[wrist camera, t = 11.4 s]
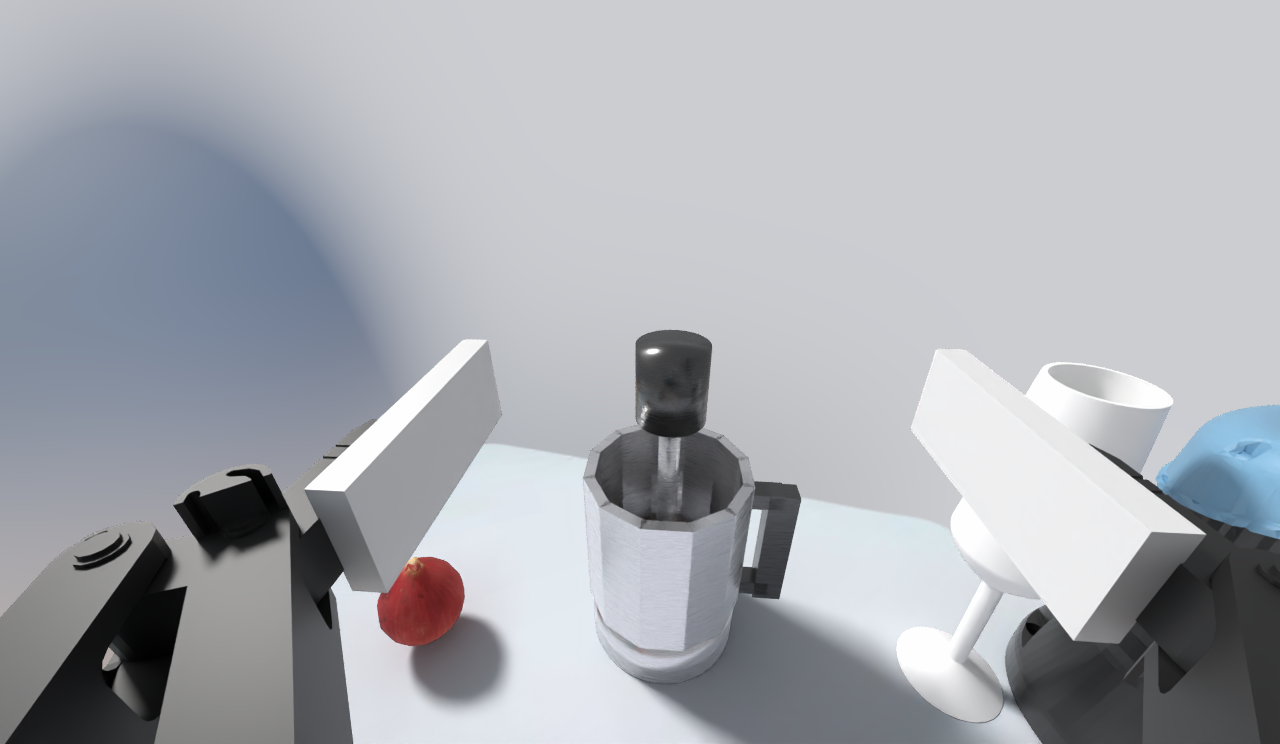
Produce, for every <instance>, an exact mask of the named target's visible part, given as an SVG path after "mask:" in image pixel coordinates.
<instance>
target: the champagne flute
mask: <svg viewBox="0 0 1280 744" xmlns="http://www.w3.org/2000/svg"><path fill="white" fill-rule="evenodd" d="M1025 396H1026V397H1028V398H1029V399H1030V400H1032V401H1033V402H1034V403H1036V404H1037V405H1038V406H1039V407H1041V408H1042V409H1043V410H1045V411H1046V412H1047V413H1049V414H1050V415H1051V416H1053V417H1054V418H1055V419H1056V420H1058V421H1059V422H1060V423H1062V424H1063V425H1064V426H1066V427H1067V428H1068V429H1070V430H1071V431H1072V432H1073V433H1075V434H1076V435H1077V436H1079V437H1080V438H1081V439H1083V440H1084V441H1085V442H1086V443H1088V444H1091V445H1093V446H1095V447H1097V448H1099V449H1101V450H1103V451H1105V452H1107V453H1109V454H1111V455H1113V456H1115V457H1117V458H1119V459H1120V460H1122V461H1123V462H1124V463H1126V464H1127V465H1129V466H1130V467H1131V468H1133V469H1134V470H1135V471H1137V472H1138V473H1139V474H1140V473H1141V471H1142V468H1143V466H1144V464H1145V462H1146V460H1147V458H1148V456H1149V453H1150V451H1151V449H1152V447H1153V445H1154V443H1155V440H1156V438H1157V436H1158V434H1159V432H1160V430H1161V427H1162V425H1163V423H1164V421H1165V419H1166V417H1167V415H1168V412H1169V410H1170V408H1171V406H1172V404H1173V399H1172V397H1171V396H1170V395H1169V394H1168V393H1166V392H1165V391H1164V390H1162V389H1161V388H1159V387H1157V386H1155V385H1153V384H1151V383H1149V382H1147V381H1144V380H1142V379H1139V378H1136V377H1134V376H1131V375H1128V374H1125V373H1122V372H1119V371H1115V370H1111V369H1107V368H1103V367H1098V366H1092V365H1087V364H1080V363H1067V362H1057V363H1049V364H1047V365H1045V366H1043V367H1042V369H1041V371H1040V372H1039V374H1038V376H1037V377H1036V379H1035V381H1034V382H1033V384H1032V385H1031V387H1030V388H1029V390H1028V392H1027V393H1026V395H1025ZM951 532H952V535H953V539H954V542H955V544H956V547H957V549H958V551H959V552H960V554H961V556H962V558H963V559H964V561H965V562H966V563H967V564H968V566H969V567H970V568H971V569H972V570H973V571H974V572H975V573H976V574H977V575H978V576H979V578H980V579H981V580H982V582H981V584H980V586H979V588H978V590H977V592H976V594H975V596H974V598H973V599H972V601H971V603H970V605H969V607H968V609H967V611H966V613H965V615H964V617H963V619H962V621H961V622H960V624H959V626H958V628H957V630H956V632H955V634H954V636H953V635H951V634H949V633H947V632H944V631H942V630H938V629H935V628H930V627H915V628H911V629H908V630H907V631H905V632H904V633H903V634H902V635H901V636H900V638H899V640H898V643H897V657H898V661H899V664H900V666H901V669H902V671H903V673H904V674H905V676H906V678H907V680H908V681H909V682H910V683H911V685H912V686H913V687H914V689H915V690H916V691H917V692H918V693H919V694H920V695H921V696H922V697H923V698H924V699H926V700H927V701H928V702H929V703H930V704H932V705H933V706H934V707H936V708H938V709H939V710H941V711H942V712H944V713H946V714H948V715H950V716H952V717H954V718H957V719H960V720H963V721H967V722H975V723H980V722H987V721H990V720H992V719H994V718H995V717H996V716H997V715H998V714H999V713H1000V711H1001V709H1002V706H1003V694H1002V689H1001V686H1000V683H999V681H998V679H997V677H996V675H995V674H994V672H993V670H992V669H991V668H990V666H989V665H988V664H987V662H986V661H985V660H984V659H983V658H982V657H981V656H980V655H979V654H978V653H977V652H976V651H975V650H974V649H972V648H973V646H974V645H975V643H976V641H977V639H978V638H979V636H980V634H981V632H982V631H983V629H984V627H985V625H986V623H987V622H988V620H989V618H990V616H991V615H992V613H993V611H994V609H995V608H996V606H997V604H998V602H999V600H1000V599H1001V597H1002V595H1003V593H1007V594H1011V595H1016V596H1020V597H1025V598H1030V599H1041V598H1040V597H1039V595H1038V594H1037V593H1036V591H1035V590H1034V589H1033V588H1032V586H1031V585H1030V584H1029V582H1028V581H1027V580H1026V578H1025V577H1024V576H1023V575H1022V573H1021V572H1020V571H1019V569H1018V568H1017V567H1016V565H1015V564H1014V563H1013V562H1012V560H1011V559H1010V558H1009V556H1008V555H1007V554H1006V552H1005V551H1004V550H1003V549H1002V547H1001V546H1000V545H999V543H998V542H997V541H996V539H995V538H994V537H993V536H992V534H991V533H990V532H989V530H988V529H987V528H986V526H985V525H984V524H983V523H982V521H981V520H980V519H979V517H978V516H977V515H976V513H975V512H974V511H973V510H972V508H971V507H970V506H969V504H968V503H967V502H966V500H965V499H964V498H962V499H961V501H960V502H959V504H958V506H957V507H956V509H955V511H954V512H953V514H952V518H951Z"/></svg>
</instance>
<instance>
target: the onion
mask: <svg viewBox="0 0 1280 744" xmlns="http://www.w3.org/2000/svg"><path fill="white" fill-rule="evenodd" d="M464 598H465V595H464V586H463V582H462V579H461V576H460V574H459V573H458V572H457V571H456V570H455V569H454V568H453V567H452V566H451V565H450V564H449V563H448V562H446V561H444V560H441V559H437V558H434V557H420V558H417V557H414V558H412V559H411V560H409V561H408V562H407V564H406V565H405V567H404V568H403V570H402V571H401V573H400V575H399V576H398V578H397V579H396V581H395V582H394V584H393V585H392V587H391V588H390V590H389V592H388V593H381V594H380V597H379V599H378V604H377V609H378V616H379V623H380V627H381V629H382V630H383V631H384V632H385V633H386V634H387V635H388V636H389V637H390V638H391V639H392V640H394V641H395V642H396V643H400V644H404V645H408V646H418V645H426V644H429V643H431V642H433V641H435V640H437V639H439V638H440V637H442V636H443V635H444V634H445V633H446V632H447V631H449V630H450V629H451V628H452V626H453V625H454V623H455V622H456V620H457V619H458V618H459V615H460V613H461V611H462V607H463V603H464Z"/></svg>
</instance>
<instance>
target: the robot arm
mask: <svg viewBox="0 0 1280 744" xmlns="http://www.w3.org/2000/svg"><path fill="white" fill-rule="evenodd" d="M501 416H502V413H501V408H500V402H499V397H498V391H497V386H496V382H495V376H494V370H493V366H492V360H491V355H490V350H489V345H488V340H465V339H464V340H463V341H462V342H460V343H459V344H458V345H457V346H456V347H455V348H454V349H453V350H452V351H451V352H450V353H449V354H448V355H447V356H446V357H444V358H443V359H442V360H441V361H440V362H439V363H438V364H437V365H436V366H435V367H434V368H433V369H432V370H431V371H429V372H428V373H427V374H426V375H425V376H424V377H423V378H422V379H421V380H420V381H419V382H418V383H417V384H416V385H415V386H414V387H412V388H411V389H410V390H409V391H408V392H407V393H406V394H405V395H404V396H403V397H402V398H401V399H400V400H399V401H397V402H396V403H395V404H394V405H393V406H392V407H391V408H390V409H389V410H388V411H387V412H386V413H385V414H384V415H383V416H381V417H380V418H379V419H378V420H374V419H373V420H370V421H368V422H367V423H365V424H363V425H361V426H359V427H358V428H356V429H354V430H352V431H351V432H350V433H348V434H347V435H346V436H345V437H344V438H343V439H342V440H341V441H339V442H338V443H337V444H336V447H335V448H332V449H331V450H329V451H328V452H327V453H326V454H325V455H324V456H323V459H319V460H318V461H317V462H316V463H315V464H314V465H313V466H312V467H311V468H309V469H308V470H307V471H306V472H305V473H304V474H303V475H302V476H300V477H299V478H298V479H297V480H296V481H295V482H294V483H293V484H291V485H290V486H289V487H288V488H287V489H286V490H285V491H284V492H282V493H281V491H280V489H279V487H278V485H277V483H276V481H275V479H274V477H273V475H272V473H271V471H270V469H269V467H266V466H263V465H260V464H250V465H249V464H248V465H241V466H237V467H233V468H228V469H225V470H223V471H220V472H217V473H215V474H212V475H210V476H208V477H206V478H204V479H202V480H200V481H199V482H197V483H195V484H193V485H192V486H191V487H189V488H188V489H187V490H186V491H184V492H183V493H182V494H181V495H180V496H179V497H178V499H177V500H176V502H175V503H174V505H173V506H174V507H175V509H176V510H177V512H178V513H179V515H180V516H181V518H182V519H183V521H184V522H185V524H186V525H187V527H188V528H189V530H190V531H191V533H192V534H193V535H188V536H182V537H177V538H171V539H166V540H164V539H163V537H162V536H161V535H160V533H159V532H158V531H157V529H156V528H155V526H154V525H153V524H152V523H150V522H145V521H136V522H128V523H123V524H120V525H116V526H113V527H110V528H105V529H103V530H100V531H98V532H97V533H95V534H94V533H93V534H91V535H89V536H87V537H85V538H83V539H82V540H80V541H79V542H78V543H76V544H74V545H73V546H71V547H69V548H68V549H66V550H65V551H63V552H62V553H61V554H60V555H59V556H58V557H57V558H55V559H54V560H53V561H52V562H51V563H50V564H49V565H48V566H47V567H46V568H45V569H44V570H43V571H42V572H41V574H40V575H39V576H38V577H37V578H36V579H35V580H34V581H33V582H32V583H31V585H30V586H29V587H28V588H27V589H26V590H25V591H24V592H23V593H22V594H21V595H20V597H19V598H18V599H17V600H16V601H15V602H14V603H13V604H12V605H11V606H10V608H9V609H8V610H7V611H6V612H5V613H4V614H3V615H2V616H1V617H0V744H353V737H352V729H351V721H350V712H349V704H348V695H347V687H346V679H345V670H344V662H343V654H342V645H341V637H340V629H339V620H338V612H337V604H336V598H335V596H334V594H333V592H332V590H331V586H332V585H333V584H334V582H335V581H336V580H337V579H338V577H339V576H340V575H341V573H342V572H344V574H345V576H346V578H347V580H348V582H349V584H350V587H351V589H352V591H365V592H379V593H388V592H389V590H390V588H391V587H392V585H393V584H394V582H395V581H396V579H397V578H398V576H399V575H400V573H401V571H402V570H403V568H404V567H405V565H406V564H407V562H408V561H409V559H410V557H411V556H412V554H413V553H414V551H415V550H416V548H417V547H418V545H419V543H420V542H421V540H422V539H423V537H424V536H425V534H426V533H427V531H428V529H429V528H430V526H431V525H432V523H433V522H434V520H435V519H436V517H437V515H438V514H439V512H440V511H441V509H442V508H443V506H444V505H445V503H446V501H447V500H448V498H449V497H450V495H451V494H452V492H453V491H454V489H455V488H456V486H457V484H458V483H459V481H460V480H461V478H462V477H463V475H464V474H465V472H466V470H467V469H468V467H469V466H470V464H471V463H472V461H473V460H474V458H475V456H476V455H477V453H478V452H479V450H480V449H481V447H482V446H483V444H484V442H485V441H486V439H487V438H488V436H489V435H490V433H491V432H492V430H493V428H494V427H495V425H496V424H497V422H498V421H499V419H500V418H501ZM911 430H912V432H913V433H914V434H915V435H916V437H917V438H918V439H919V441H920V442H921V443H922V444H923V446H924V447H925V448H926V450H927V451H928V452H929V454H930V455H931V456H932V458H933V459H934V460H935V461H936V463H937V464H938V465H939V467H940V468H941V469H942V471H943V472H944V473H945V474H946V476H947V477H948V478H949V480H950V481H951V482H952V484H953V485H954V486H955V487H956V489H957V490H958V491H959V493H960V494H961V495H962V497H963V498H964V499H965V500H966V502H967V503H968V504H969V506H970V507H971V508H972V510H973V511H974V512H975V513H976V515H977V516H978V517H979V519H980V520H981V521H982V523H983V524H984V525H985V526H986V528H987V529H988V530H989V532H990V533H991V534H992V536H993V537H994V538H995V539H996V541H997V542H998V543H999V545H1000V546H1001V547H1002V549H1003V550H1004V551H1005V552H1006V554H1007V555H1008V556H1009V558H1010V559H1011V560H1012V562H1013V563H1014V564H1015V565H1016V567H1017V568H1018V569H1019V571H1020V572H1021V573H1022V575H1023V576H1024V577H1025V578H1026V580H1027V581H1028V582H1029V584H1030V585H1031V586H1032V588H1033V589H1034V590H1035V591H1036V593H1037V594H1038V595H1039V597H1040V598H1041V599H1042V601H1043V602H1044V603H1045V604H1046V605H1044V606H1042V607H1040V608H1038V609H1036V610H1034V611H1033V612H1031V613H1030V614H1029V615H1028V616H1026V617H1025V618H1024V619H1023V621H1022V622H1021V623H1020V625H1019V626H1018V628H1017V630H1016V631H1015V633H1014V634H1013V636H1012V638H1011V639H1010V641H1009V643H1008V646H1007V649H1006V656H1005V664H1006V672H1007V677H1008V680H1009V684H1010V687H1011V690H1012V692H1013V695H1014V697H1015V699H1016V702H1017V704H1018V706H1019V708H1020V710H1021V711H1022V713H1023V715H1024V717H1025V718H1026V720H1027V722H1028V723H1029V725H1030V726H1031V728H1032V730H1033V731H1034V732H1035V734H1036V735H1037V737H1038V738H1039V740H1040V741H1041V742H1042V743H1043V744H1280V405H1267V406H1257V407H1249V408H1244V409H1239V410H1235V411H1231V412H1228V413H1225V414H1222V415H1220V416H1217V417H1215V418H1213V419H1212V420H1210V421H1208V422H1207V423H1205V424H1204V425H1203V426H1202V427H1201V428H1200V429H1199V430H1198V431H1197V432H1196V433H1195V435H1194V436H1193V437H1192V438H1191V440H1190V441H1189V442H1188V443H1187V445H1186V446H1185V447H1184V448H1183V449H1182V451H1181V452H1180V453H1179V454H1178V456H1177V457H1176V458H1175V459H1174V461H1172V462H1170V463H1168V464H1166V465H1165V466H1164V467H1162V468H1161V470H1160V471H1159V473H1158V475H1157V477H1156V481H1157V486H1155V485H1154V484H1153V483H1151V482H1150V481H1149V480H1143V476H1142V475H1141V474H1139V473H1138V472H1137V471H1135V470H1134V469H1133V468H1131V467H1130V466H1129V465H1127V464H1126V463H1124V462H1123V461H1122V460H1120V459H1119V458H1117V457H1115V456H1113V455H1111V454H1109V453H1107V452H1105V451H1103V450H1101V449H1099V448H1097V447H1095V446H1093V445H1091V444H1088V443H1086V442H1085V441H1084V440H1083V439H1081V438H1080V437H1079V436H1077V435H1076V434H1075V433H1073V432H1072V431H1071V430H1070V429H1068V428H1067V427H1066V426H1064V425H1063V424H1062V423H1060V422H1059V421H1058V420H1056V419H1055V418H1054V417H1053V416H1051V415H1050V414H1049V413H1047V412H1046V411H1045V410H1043V409H1042V408H1041V407H1039V406H1038V405H1037V404H1036V403H1034V402H1033V401H1032V400H1030V399H1029V398H1028V397H1026V396H1025V395H1024V394H1022V393H1021V392H1020V391H1019V390H1017V389H1016V388H1015V387H1013V386H1012V385H1011V384H1009V383H1008V382H1007V381H1006V380H1004V379H1003V378H1002V377H1000V376H999V375H998V374H996V373H995V372H994V371H992V370H991V369H990V368H988V367H987V366H986V365H984V364H983V363H982V362H981V361H979V360H978V359H977V358H975V357H974V356H973V355H972V354H970V353H969V352H968V351H966V350H965V349H936V352H935V355H934V358H933V361H932V364H931V367H930V371H929V374H928V377H927V380H926V383H925V386H924V389H923V392H922V396H921V398H920V402H919V405H918V408H917V411H916V414H915V417H914V420H913V423H912V427H911ZM108 647H109V648H110V649H111V650H112V651H113V652H114V655H113V657H112V658H111V660H110V661H109V663H108V664H107V666H106V667H105V668H104V669H102V661H103V659H104V656H105V654H106V651H107V649H108Z"/></svg>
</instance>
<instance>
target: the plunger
mask: <svg viewBox="0 0 1280 744" xmlns="http://www.w3.org/2000/svg"><path fill="white" fill-rule="evenodd" d="M711 353H712V344H711V342H710V341H709V340H708V339H706V338H705V337H703V336H701V335H699V334H696V333H692V332H687V331H680V330H662V331H655V332H651V333H647V334H645V335H643V336H641V337H640V338H639V339H638V340H637V341H636V421H637V423H638V425H639V426H640V427H641V428H642V429H643V430H645V431H647V432H648V433H651V434H653V435H656V436H659V449H658V484H657V518H656V521H670V522H676V511H677V493H678V476H679V458H680V440H681V437H685V436H689V435H692V434H694V433H697V432H698V431H700V430H701V429H702V428H703V427H704V425H705V422H706V412H707V401H708V389H709V376H710V365H711Z"/></svg>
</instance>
